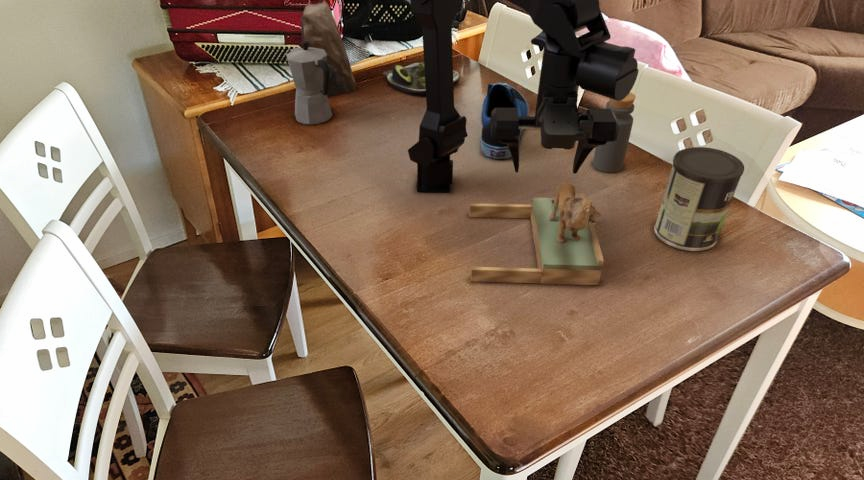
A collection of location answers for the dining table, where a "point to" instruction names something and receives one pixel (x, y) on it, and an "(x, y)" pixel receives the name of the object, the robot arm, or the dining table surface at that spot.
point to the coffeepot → (310, 84)
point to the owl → (328, 46)
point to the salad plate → (410, 78)
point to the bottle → (614, 152)
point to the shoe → (500, 98)
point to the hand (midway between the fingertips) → (545, 171)
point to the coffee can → (697, 198)
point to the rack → (545, 248)
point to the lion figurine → (572, 211)
